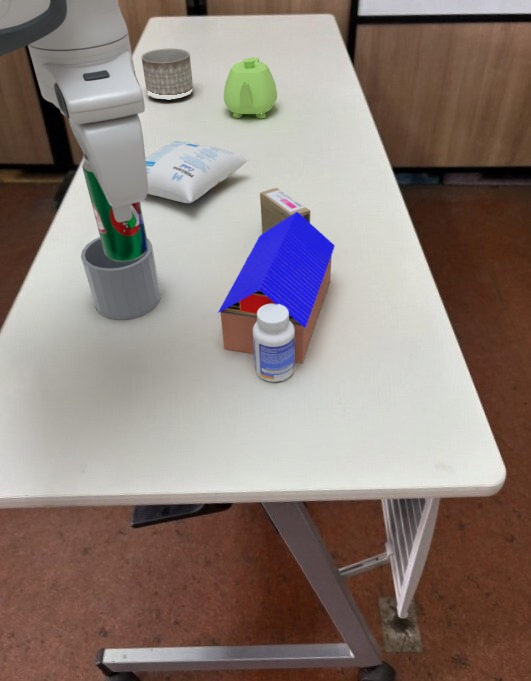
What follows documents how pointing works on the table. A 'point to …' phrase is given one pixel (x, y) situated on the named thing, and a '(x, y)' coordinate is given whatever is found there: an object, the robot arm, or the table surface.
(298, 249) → the house
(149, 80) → the planter
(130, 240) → the soda can
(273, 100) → the teapot
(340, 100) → the table surface
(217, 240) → the table surface
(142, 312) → the steel cup
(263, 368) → the pill bottle
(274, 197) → the ink box
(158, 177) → the pouch
